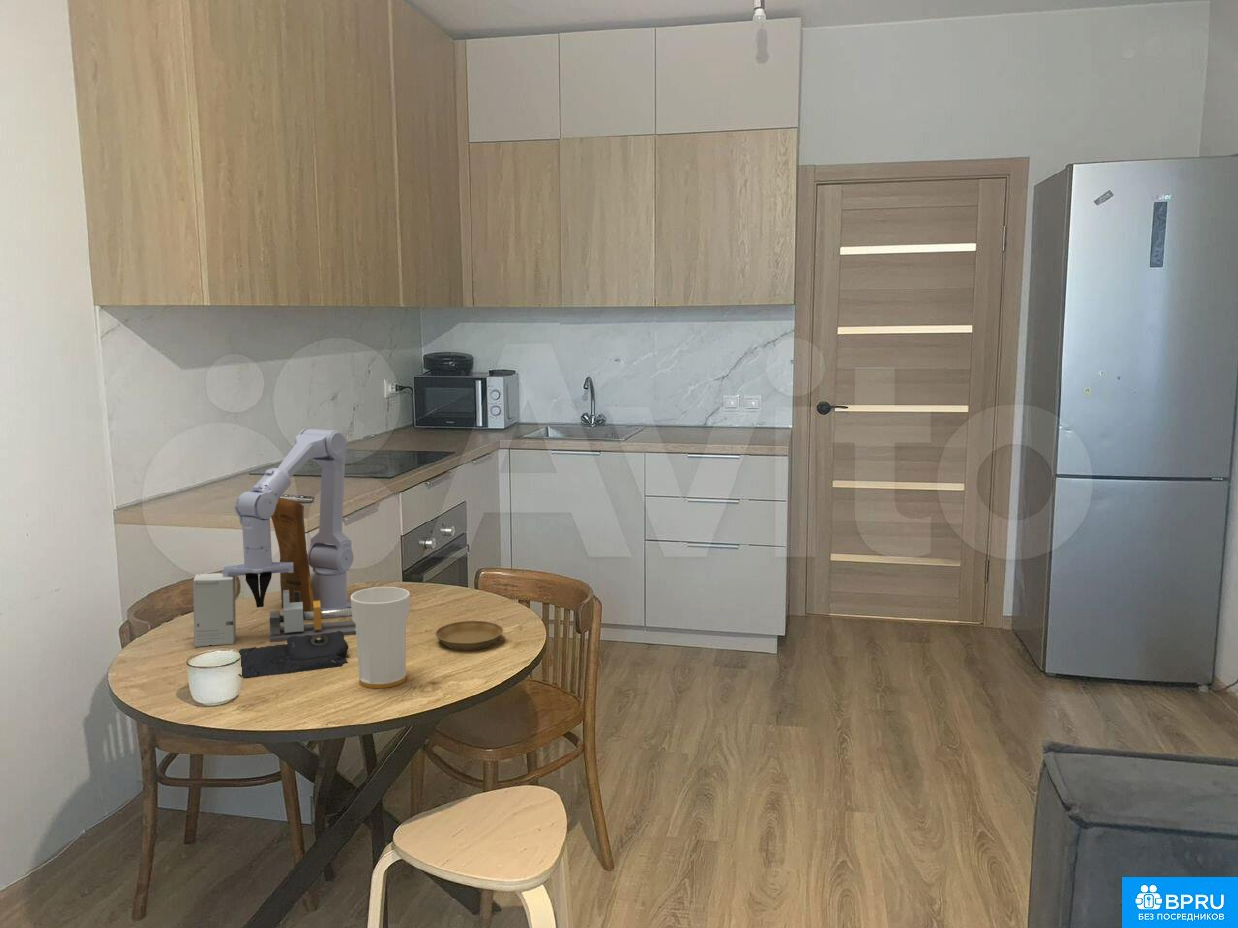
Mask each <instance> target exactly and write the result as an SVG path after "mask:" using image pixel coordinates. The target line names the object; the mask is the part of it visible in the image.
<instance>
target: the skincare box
mask: <svg viewBox="0 0 1238 928" xmlns="http://www.w3.org/2000/svg"><path fill="white" fill-rule="evenodd" d="M192 583H193V585H192V587H193V590H192V591H193V593H192V594H193V596H192V597H193V637H194V638H193V641H194V644H193V645H194V647H195V648H199V647H210V646H209V645H212V646H221V645H234V644H235V641H236V637H237V633H236V631H237V628H236V627H237V625H236V622H237V621H236V576H228V577H223V572H221V573H219V572H218V573H217V572H216V573H201V574H200V573H198V574H195V576H194V578H193V582H192Z"/></svg>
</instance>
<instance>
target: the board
mask: <svg viewBox="0 0 1238 928" xmlns="http://www.w3.org/2000/svg"><path fill="white" fill-rule="evenodd" d="M280 627H281V630H280V636H270V638H269V640H270V643H279V642H286V641H287V639H288V638H289V637H291V636H298V637H303V636H305V635H311V636H312V637H314V638H316V639H319V638H320V639H321V634H322V633H331V632H337V631H341V632H343V635H344V636H354V635H356V624H355V623H354V621H353V620H350V619H349V620H343V621H342V620H339V621H330V622H329V621H328V622H321V630H314V623H306V624H304V631H299V632H288V633H285V630H284V625H283V626H281V625H280Z"/></svg>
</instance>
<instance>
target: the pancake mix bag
mask: <svg viewBox="0 0 1238 928" xmlns="http://www.w3.org/2000/svg"><path fill="white" fill-rule="evenodd" d="M304 512H305V505H303V504H301V503H300V502H298V501H296V500H292V499H288V498H283V497H280V498H279V499H278V503H277V504H276V508H275V512H274V514H273V515H272V516H271V517H270V519H271V522H272V525H273V528H274V534H275V537H276V541H277V546H278V551H279V562H293V569H294V572H293V573H288V572H284V573H279V574H280V575H279V577H280V578H279V581H280V599H281V608H283V609H284V607H283V590H289V602H290V603H294V602H303V612H307V611H314V608H313V601H314V598H313V591H312V584H311V577H310V575H311V571H310V565H309V562H308V555H307V554H308V551H307V550H308V549H307V540H306V539H307V537H306V530H305V518H304V517H305V516H304V514H305V513H304Z"/></svg>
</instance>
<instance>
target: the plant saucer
mask: <svg viewBox="0 0 1238 928" xmlns="http://www.w3.org/2000/svg"><path fill="white" fill-rule="evenodd" d="M503 632H504V629H503V627H502V626H501V625H499V624H497V623H494V622H490V621H486V620H485V621H483V620H463V621H455V622H451V623H448V624H445V625H442V626H440V627H438V629H437V630H435V632H434V633H435V636H436V638H437V639H438V640H439V642H440V643H442V644H443V645H445V646H446V647H447V648H450V649H452V650H457V651H473V650H482V649H485V648H488V647H490V646H492V645H493V644H494V643H495V642H497V640H498V639H499V638H500V637H501V636H502V634H504V633H503Z"/></svg>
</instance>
